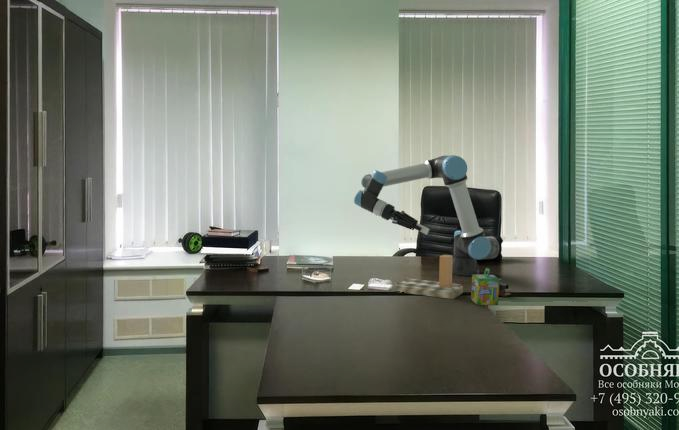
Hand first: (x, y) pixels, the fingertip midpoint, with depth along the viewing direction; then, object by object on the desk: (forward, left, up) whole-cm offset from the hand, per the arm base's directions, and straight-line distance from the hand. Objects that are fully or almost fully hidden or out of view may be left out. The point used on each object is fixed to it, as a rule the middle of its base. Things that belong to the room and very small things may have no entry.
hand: (428, 231), depth 273 cm
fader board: (+4, +10, -27) cm, 29 cm away
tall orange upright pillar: (-2, +16, -23) cm, 28 cm away
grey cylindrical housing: (-58, -58, -27) cm, 86 cm away
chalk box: (-11, +34, -27) cm, 45 cm away
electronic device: (-24, +23, -27) cm, 43 cm away
